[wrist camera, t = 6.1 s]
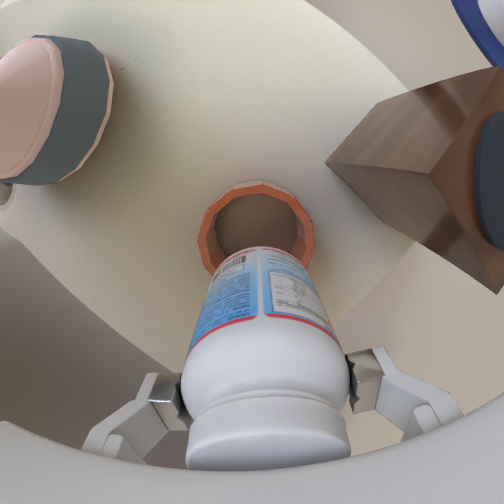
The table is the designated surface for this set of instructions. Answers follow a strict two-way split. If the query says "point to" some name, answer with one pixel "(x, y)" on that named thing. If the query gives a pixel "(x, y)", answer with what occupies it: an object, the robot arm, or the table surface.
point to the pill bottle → (264, 370)
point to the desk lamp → (51, 108)
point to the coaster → (490, 180)
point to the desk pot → (207, 234)
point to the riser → (429, 167)
